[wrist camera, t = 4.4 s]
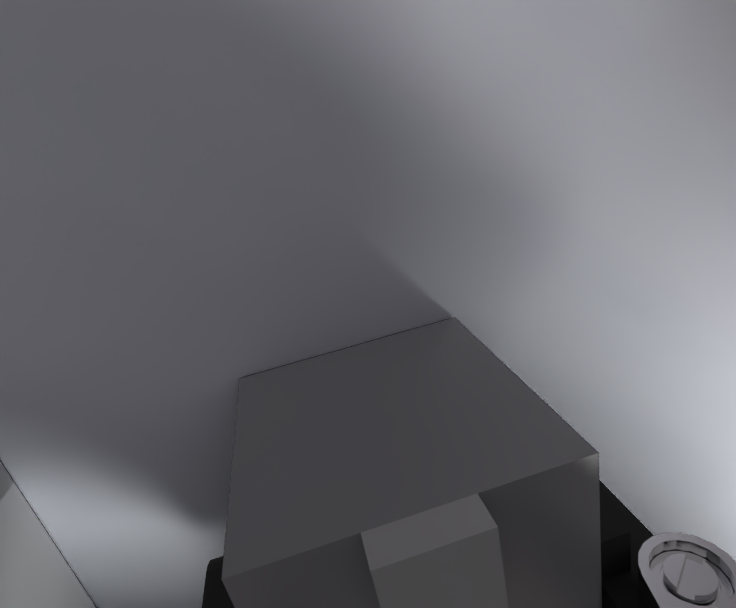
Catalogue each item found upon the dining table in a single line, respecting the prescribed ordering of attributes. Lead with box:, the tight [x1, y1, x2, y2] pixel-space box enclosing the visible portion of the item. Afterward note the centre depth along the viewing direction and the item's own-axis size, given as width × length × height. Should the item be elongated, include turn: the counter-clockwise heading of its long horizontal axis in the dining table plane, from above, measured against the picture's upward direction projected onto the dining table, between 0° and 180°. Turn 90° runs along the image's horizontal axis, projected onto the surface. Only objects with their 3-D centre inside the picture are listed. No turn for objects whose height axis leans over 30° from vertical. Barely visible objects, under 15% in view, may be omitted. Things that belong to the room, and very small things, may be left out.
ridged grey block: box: [222, 317, 602, 608], centre depth 8 cm, size 4×7×5 cm, turn 12°
